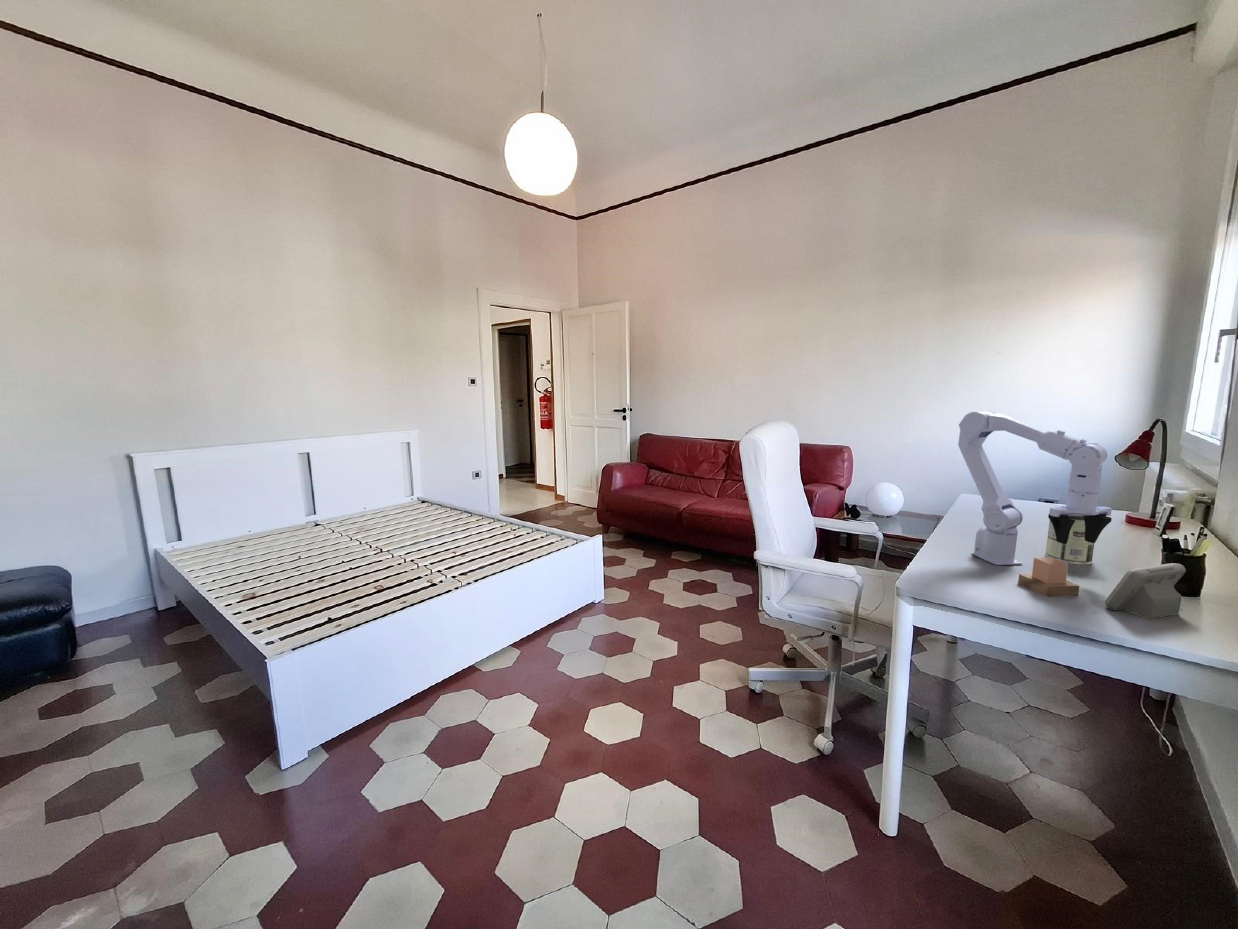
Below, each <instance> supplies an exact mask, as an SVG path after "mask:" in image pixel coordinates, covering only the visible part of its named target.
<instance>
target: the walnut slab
mask: <svg viewBox="0 0 1238 929" xmlns="http://www.w3.org/2000/svg"><path fill="white" fill-rule="evenodd" d="M1017 584H1019V585H1020V586H1023V587H1025V588H1027V589H1029V590H1031V591H1034V592H1035V593H1037V594H1039V595H1041V596H1043V597H1047V598H1048V597H1050V598H1051V597H1072V596H1073V597H1076V596H1079V593H1080V585H1079V584H1077V583H1074V582H1071V581H1069V580H1067V579H1066V583H1045V582H1043V581H1041V580H1038V579H1036V578H1034V577H1032V573H1018V581H1017Z"/></svg>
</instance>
